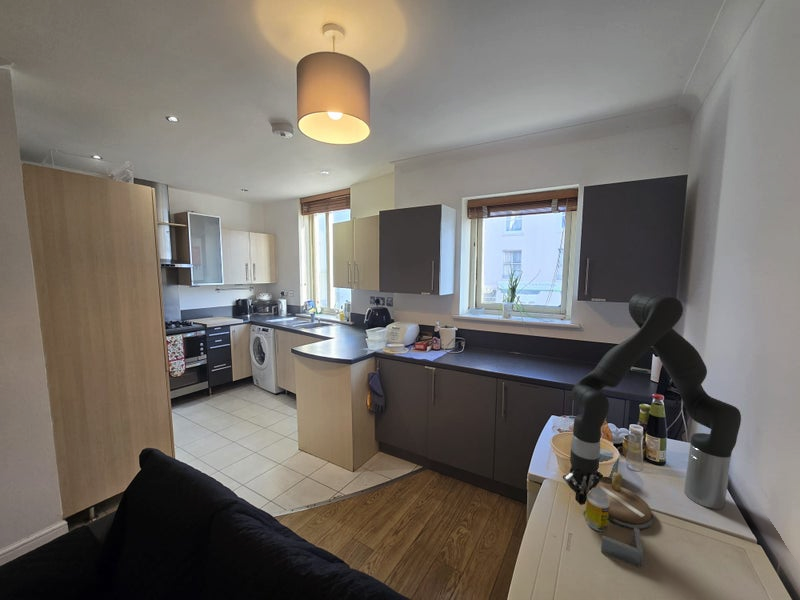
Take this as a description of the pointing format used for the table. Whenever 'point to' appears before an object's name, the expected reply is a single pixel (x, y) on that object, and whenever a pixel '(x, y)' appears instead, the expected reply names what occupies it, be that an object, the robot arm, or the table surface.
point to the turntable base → (631, 526)
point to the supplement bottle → (597, 509)
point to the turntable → (625, 503)
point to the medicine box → (606, 456)
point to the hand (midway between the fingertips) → (580, 502)
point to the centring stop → (624, 549)
